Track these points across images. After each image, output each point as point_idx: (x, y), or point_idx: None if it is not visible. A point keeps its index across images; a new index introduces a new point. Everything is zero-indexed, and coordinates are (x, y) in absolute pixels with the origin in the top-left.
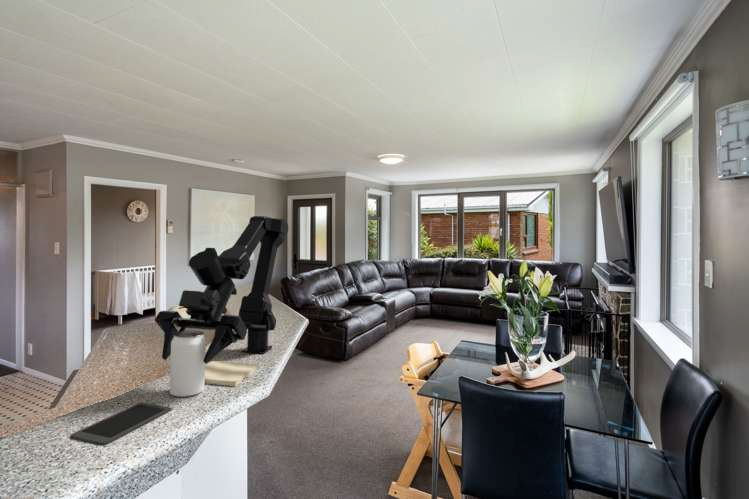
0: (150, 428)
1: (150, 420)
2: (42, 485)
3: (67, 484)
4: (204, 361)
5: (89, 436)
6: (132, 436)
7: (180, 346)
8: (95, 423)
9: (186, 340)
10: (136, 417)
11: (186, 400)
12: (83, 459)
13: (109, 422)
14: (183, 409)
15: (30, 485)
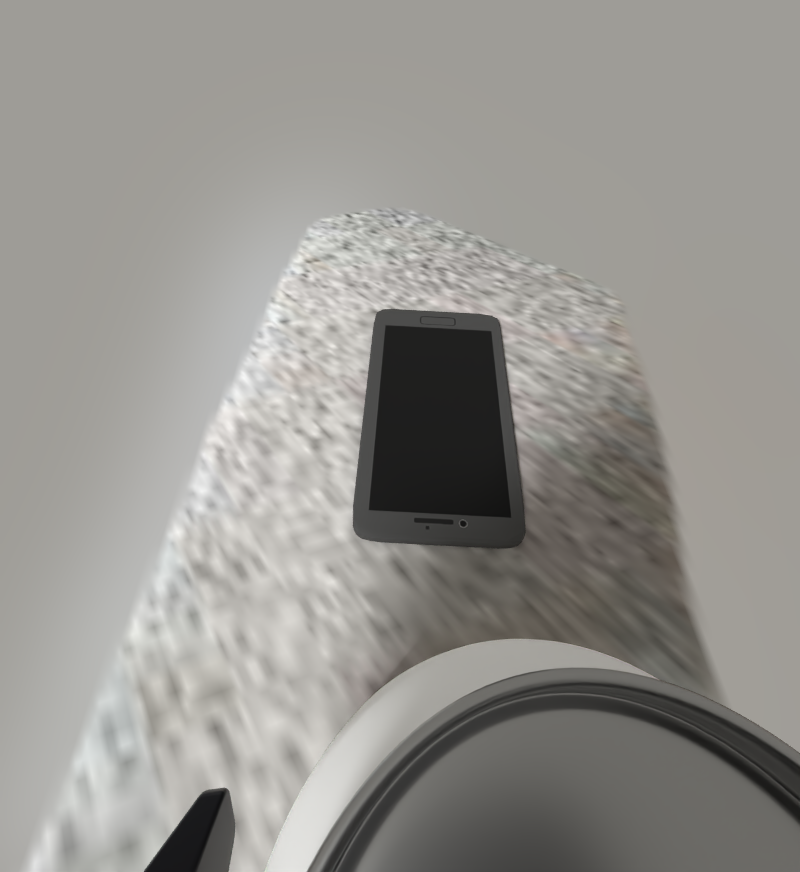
0: (329, 398)
1: (362, 428)
2: (367, 220)
3: (328, 227)
4: (216, 791)
5: (443, 319)
6: (345, 354)
7: (476, 646)
8: (501, 368)
9: (430, 715)
10: (419, 425)
11: (357, 652)
12: (372, 272)
13: (468, 380)
14: (308, 551)
15: (386, 218)
